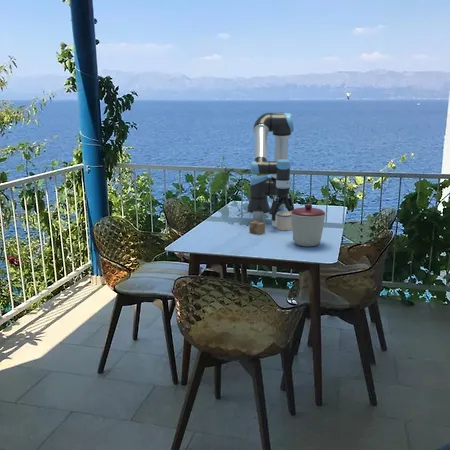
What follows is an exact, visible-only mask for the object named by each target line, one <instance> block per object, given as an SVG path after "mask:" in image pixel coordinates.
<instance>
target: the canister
mask: <svg viewBox="0 0 450 450" xmlns="http://www.w3.org/2000/svg"><path fill="white" fill-rule="evenodd" d="M290 214H291V218H292V228H291V230H292V239H293V241H294V242H293V243H295V244H296V245H298V246H300V247H316V246H319V244H320V243H321V240H322V235H323V231H324V224H325V218H326V216H327V212H326V211H324V210H323V209H320V208H317V207H313V205H312V203H306V204H305V205H304V207H296V208H294V209H293V210H292V211H290Z"/></svg>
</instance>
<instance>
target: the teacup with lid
mask: <svg viewBox="0 0 450 450" xmlns="http://www.w3.org/2000/svg"><path fill="white" fill-rule="evenodd" d="M276 215H277V226H276V227H275V228H276V230H279V231H283V232H287V231H290V230H292V218H291V214H290V212H288V210H287V208H282V210H281V211H277V213H276ZM271 222H272V217H271Z"/></svg>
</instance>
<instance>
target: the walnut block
mask: <svg viewBox="0 0 450 450" xmlns="http://www.w3.org/2000/svg"><path fill="white" fill-rule="evenodd" d="M248 231H249V232H248V233H250V234H252V233H253V234H254V235H256V234H257V236H261V235H264V234H266V223H265V222H264V221H263V222H258V221H253V220H252V221H250V222H249V230H248Z"/></svg>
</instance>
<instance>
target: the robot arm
mask: <svg viewBox="0 0 450 450" xmlns="http://www.w3.org/2000/svg"><path fill="white" fill-rule="evenodd" d="M252 131H253V134H254V154H253V155H254V156H253V157H254V159H253V160H252V161H251V162H250V173H251V174H252V175H256V176H253V177H251V178H250V181H249V182H250V183H249V187H250V188H249V191H250V192H249V202H248V203H247V204H248V205H247V207H246V208H247V209H246V211H247V212H250V213H253V211H262V212H263V214H264V213H269V215H270V216H271V218H272V221H271V226H272V227H275V228H276V226H277V215H276V214H277V213H278V212H279V209H280V207H281V206H282V205H283V204H284V205H285V209H286V211H288V212H290V211H292V210H294V209H295V206H294V203H293V199H292V194H290V190H291V188H292V187H291V185H292V178H291V176H290V173H291V161H290V160H289V159H288V156H289V155H288V154H289V137H291V135H292V133H294V131H295V130H294V119H293V114H292V113H291V112H265V113H262V114H261V115H260V116H259V117H258V118H256V120H255V122H254V124H253V130H252ZM271 132H272V136H273V137H274V155H273V157H274V159H273V161H272V160H268V134H269V133H271ZM269 175H271V176H270V177H269ZM268 196H273V200H272V204H271V206H270V204H269V201H268V200H269V199H268ZM275 196H276V197H275Z"/></svg>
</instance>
